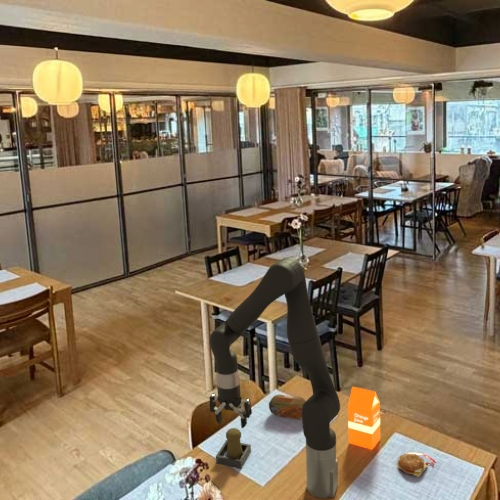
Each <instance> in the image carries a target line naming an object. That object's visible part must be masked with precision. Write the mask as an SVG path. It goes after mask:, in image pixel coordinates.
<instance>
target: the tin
mask: <svg viewBox="0 0 500 500" xmlns="http://www.w3.org/2000/svg"><path fill="white" fill-rule="evenodd" d="M306 401H307V400H305V399H304V397H300V396H297V395H296V396H295V395H285V394H276V395H274V396H273V397H272V398H271V399H270V401H269V403H268V408H269V411H270V412H271V414H273V415H274V416H276V417H279V418H286V419H294V420H302V407H303V404H304V403H305V402H306Z"/></svg>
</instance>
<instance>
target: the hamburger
mask: <svg viewBox="0 0 500 500" xmlns="http://www.w3.org/2000/svg"><path fill="white" fill-rule="evenodd" d="M423 457H425V458H427V459H429V460H430V461H432V462H427V461H426V462H425V458H423ZM435 461H436V460H435V459H433V458H432V457H431V456H430V455H427V454H425V453H422V452H414V451H413V452H412V451H411V452H408V453H404V454H403V455H400V456H399V458H398V461H397V463H396V465H397V466H398V467H397V466H396V467H397V469H399V470H401V471H403V472H404V473H406V474H408V475H412V474H413V475H412V476H415V477H418V478H420V477H421V476H422V474H423V472H424V471H425V470H426V469H427V467H428V466H429V465H428V464H430V466H431V468H432V467H433V468H434V466H435V463H437V461H436V462H435ZM427 465H428V466H427Z"/></svg>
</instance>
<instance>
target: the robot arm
mask: <svg viewBox="0 0 500 500" xmlns="http://www.w3.org/2000/svg"><path fill="white" fill-rule="evenodd" d="M282 296H284V297H285V301H286V306H287V307H286V308H287V309H286V310H287V312H286V314H287V315H286V316H287V317H286V337H287V341H288V345H289V349H290V353H291V355H292V358H293V359H294V361H295V362H296V363H297V364H298V365H299V367H301V369H302V370H303V371H304V372H305V373H306V374H307V377H308V378H309V381H310V384H311V390H312V395H311V396H309V397H308V399H306V400H305V401H306V402H305V403H304V404H303V407H302V419H301V421H302V422H301V423H302V425H301V426H302V433H303V436H304V438H305V460H306V461H305V465H306V490H307V492H308V493H309V494H310V495H311V496H313V497H314V498H319V499H326V498H334V497H335V495H336V491H337V488H338V486H339V460H338V459H337V434H336V432H335V431H334V429H332V428H331V427H330V424H331V423H332V421H333V420H335V418H336V417H337V415H339V413H340V410H341V403H340V402H341V401H340V398H339V395H338V393H337V390H336V387H335V386H334V382H333V380H332V377H331V375H330V372H329V367H328V364H327V361H326V358H325V354H324V351H323V346H322V342H321V339H320V335H319V331H318V328H317V324H316V321H315V316H314V314H313V313H314V312H313V310H312V306H311V303H310V302H311V301H310V298H309V293H308V285H307V281H306V275H305V271H304V268H303V266H302V264H301V262H299V260H298V259H296V258H295V257H291V256H287V257H283V258H281V259H279V260H278V261H276V262H274V264H271V265H270V267H269V268H268V269H267V270H266V272H265V274H264V275H263V277H262V278H261V280H260V282H259V283H258V284H257V285H256V287H255V288H254V290H253V291H252V292H251V293H250V294H249V295H248V296H247V297H246V298H245V299H244V300H242V302H241V303H240V304H239V305H238V306H237V307H236V308H235V309H234V310H233V311H232V312H231V313H230V315H229V316H228V318H227V319H226V320H225V321H224V322H223V323H221V324H220V325H219V326H218V327H217V328H215V329H213V331H212V332H210V335H209V346H210V350H211V352H212V355H213V357H214V359H215V368H216V375H215V376H216V378H215V379H216V389H217V394H216V393H215V392H213V393H211V395H210V396H209V411H210V412H211V413H214V414H215V419H216V422H217V424H221V423H222V421H223V414H222V413H223V412H222V410H223V409H224V410H226V411H232V412H235V413H236V415H239V417H240V427H241V428H242V429H245V427H246V426H247V424H248V420H247V419H249V418H250V417H251V415H252V413H253V411H252V404H251V399H250V398H248V397H247V398H246V399H243V398H242V396H241V378H240V373H239V365H238V357H237V354H236V352H235V351H233V350H230V348H231V346H232V345H233V344H234V343H235V342H236V341H237V340H238V339H239V338H240V337H241V336H242V335H243V333H244V332H246V331H247V330H248V329H249V328H250V327H252V325H254V324H255V322H256V321H257V320H258V319H259V318H260V317H261V316H262V315H263V313H264V311H266V309H267V308H268V307H269V306H270V305H271V304H272V303H274V302H275V301H277V299H279V298H281V297H282ZM217 402H218V403H219V406H218V407H217Z"/></svg>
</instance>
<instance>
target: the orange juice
mask: <svg viewBox="0 0 500 500" xmlns="http://www.w3.org/2000/svg"><path fill="white" fill-rule="evenodd" d="M347 413H348V415H347V416H348V417H347V418H348V421H347V423H348V425H347V426H348V427H347V428H348V443H349V444H350V445H354V446H357V447H361V448H365V449H369V450H371V451H372V450H373V449H374V448H375V447H376V446H377V445H378V443H379V441H381V402H380V399H379V397H378V395H377V392H376V391H374V390H369V389H366V388H361V387H355V386H352V387H351V391H350V396H349V399H348V404H347Z"/></svg>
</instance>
